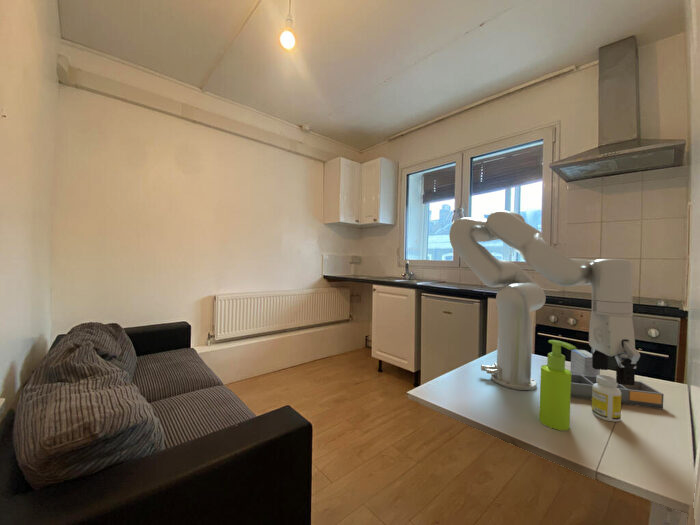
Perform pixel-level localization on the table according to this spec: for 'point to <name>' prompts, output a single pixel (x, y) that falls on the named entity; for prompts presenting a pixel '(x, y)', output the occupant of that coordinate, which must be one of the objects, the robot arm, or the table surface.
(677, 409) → the table surface
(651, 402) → the rack
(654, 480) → the table surface
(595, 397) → the supplement bottle
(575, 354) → the medicine box
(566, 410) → the soap dispenser
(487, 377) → the table surface
